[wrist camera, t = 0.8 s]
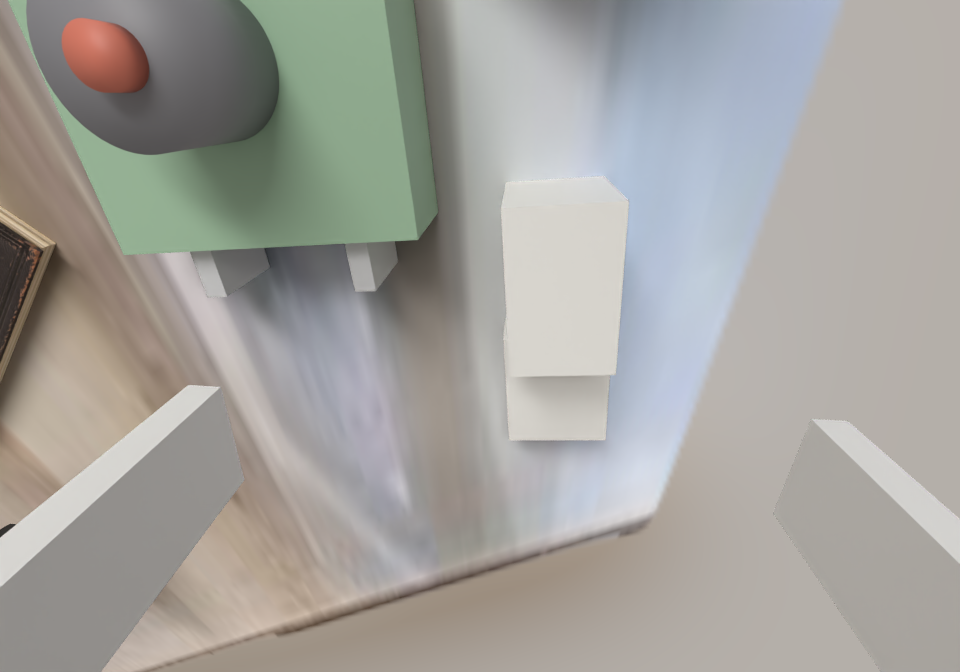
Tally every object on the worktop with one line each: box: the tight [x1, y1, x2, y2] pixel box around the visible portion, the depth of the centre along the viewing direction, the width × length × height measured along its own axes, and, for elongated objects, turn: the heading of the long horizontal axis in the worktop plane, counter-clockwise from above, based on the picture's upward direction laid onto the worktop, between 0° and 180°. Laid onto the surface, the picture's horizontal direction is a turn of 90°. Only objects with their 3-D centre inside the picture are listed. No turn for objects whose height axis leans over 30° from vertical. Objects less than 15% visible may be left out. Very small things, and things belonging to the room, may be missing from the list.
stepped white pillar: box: [501, 176, 629, 440], centre depth 27 cm, size 17×7×7 cm, turn 4°
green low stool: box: [8, 0, 438, 297], centre depth 21 cm, size 16×17×12 cm
